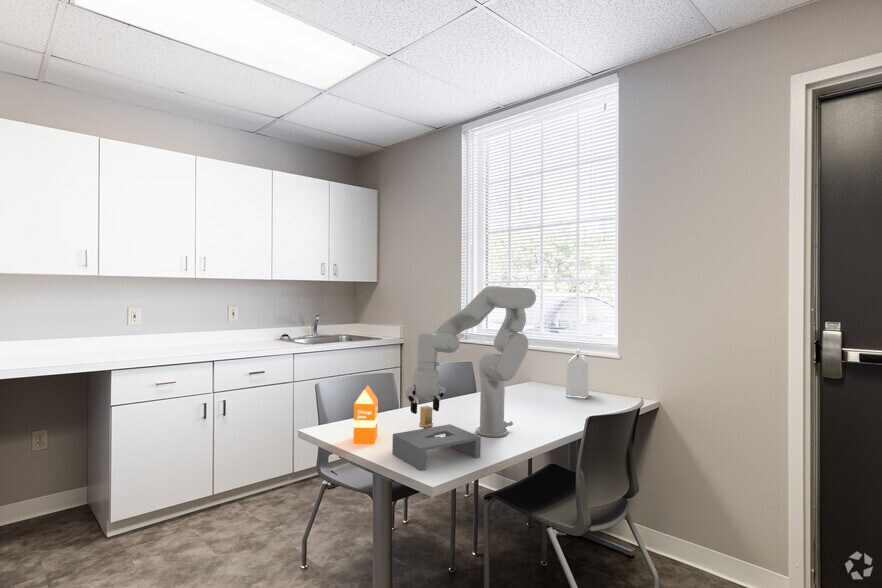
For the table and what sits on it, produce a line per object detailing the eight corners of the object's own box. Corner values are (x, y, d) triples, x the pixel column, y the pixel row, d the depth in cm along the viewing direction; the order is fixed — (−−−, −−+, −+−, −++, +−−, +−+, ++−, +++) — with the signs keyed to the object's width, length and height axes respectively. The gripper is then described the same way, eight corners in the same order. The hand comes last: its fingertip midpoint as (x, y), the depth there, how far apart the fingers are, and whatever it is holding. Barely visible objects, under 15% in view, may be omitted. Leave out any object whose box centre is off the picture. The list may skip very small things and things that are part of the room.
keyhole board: (449, 443, 178) (450, 424, 178) (480, 457, 163) (480, 436, 163) (392, 454, 165) (392, 433, 164) (420, 471, 150) (420, 448, 150)
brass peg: (427, 438, 184) (428, 405, 184) (435, 441, 180) (435, 407, 180) (416, 440, 181) (417, 406, 181) (423, 443, 177) (424, 409, 177)
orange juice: (377, 436, 184) (378, 384, 184) (374, 444, 175) (375, 389, 175) (357, 436, 184) (358, 384, 184) (352, 443, 175) (353, 388, 175)
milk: (567, 393, 273) (568, 347, 273) (588, 394, 270) (589, 348, 270) (565, 397, 262) (566, 349, 262) (587, 399, 258) (588, 350, 258)
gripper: (440, 363, 188) (438, 407, 188) (401, 365, 179) (399, 411, 178) (451, 366, 182) (449, 411, 182) (412, 368, 172) (410, 416, 172)
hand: (424, 411), depth 180 cm, fingers open, 9 cm apart
